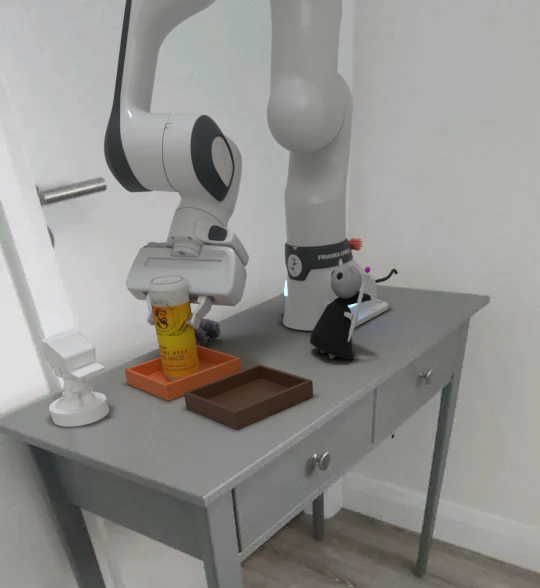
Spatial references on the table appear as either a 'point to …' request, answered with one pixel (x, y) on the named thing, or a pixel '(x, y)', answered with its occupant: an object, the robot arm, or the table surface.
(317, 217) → the robot arm
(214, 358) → the can tray
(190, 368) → the beer can
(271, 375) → the walnut tray
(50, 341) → the character figurine
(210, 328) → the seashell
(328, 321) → the toy
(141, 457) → the table surface
